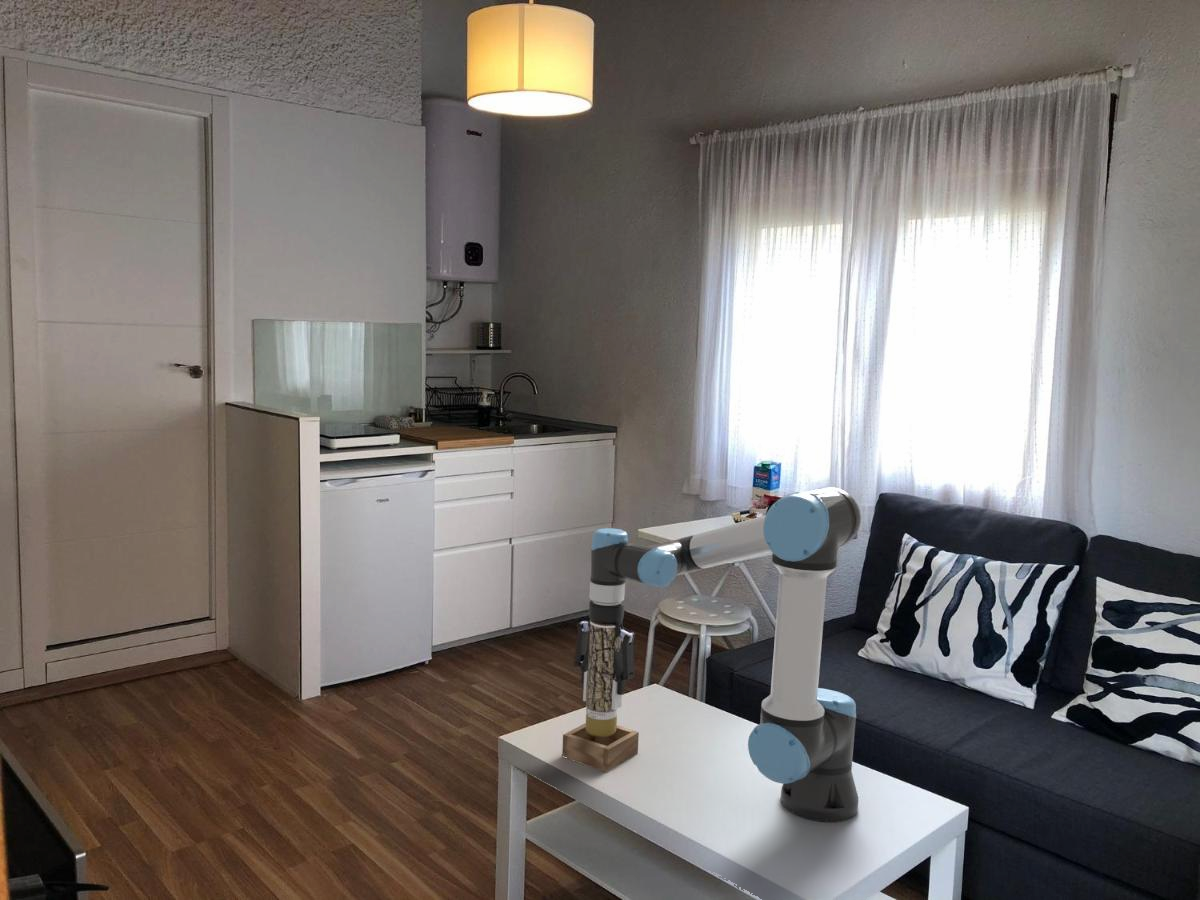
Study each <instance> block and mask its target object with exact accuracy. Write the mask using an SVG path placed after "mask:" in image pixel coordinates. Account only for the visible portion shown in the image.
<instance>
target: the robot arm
mask: <svg viewBox="0 0 1200 900" xmlns="http://www.w3.org/2000/svg"><path fill="white" fill-rule="evenodd" d="M861 521H862V515H861V511H860V507H859V505H858V503H857V501H856V500H855V499H854V497H853V496H852V495H851V494H849V493H848V492H846V491H845V490H842V489H841V488H837V487H831V486H829V487H828V486H827V487H822V488H821V487H819V488H817V489H812V490H811V489H810V490H806V491H795V492H792V493H789V494H788V495H785V496H783V497H781V498H779V499H778V500H776V501H775V502H774V503H773V504H772V505H771V506H770V508H769V509H768V511H767V512H766V514H764V515H761V516H758V517H754V518H750V519H747V520H743V521H740V522H736V523H732V524H729V525H725V526H721V527H719V528H714V529H711V530H707V531H703V532H700V533H696V534H693V535H689V536H685V537H681V538H677V539H673V540H669V541H665V542H661V543H655V544H652V545H648V546H645V545H639V544H634V543H631V542H628V541H629V539H628V533H627V531H626V530H623V529H620V528H611V527H609V528H608V527H606V528H599V529H597V530H595V531H594V532H593V534H592V541H591V542H592V543H591V548H590V551H591V552H590V554H591V555H590V559H591V561H590V580H589V599H590V601H589V603H588V618H589V620H588V621H587V620H582V621H580V622H578V623H576V628H577V638H576V646H575V653H574V660H573V665H574V666H575V667H578V668H580V670H581V673H580V675H581V679H580V681H581V682H580V683H581V685H583V694H582V695H583V696H582V701H583V702H587V680H588V658H589V645H588V643H589V635H590V620H591V619H592V620H594V621H597V622H602V623H609V624H613V625H615V637H616V638H617V637H618V636H619V635H620V636H621V645H620V647H621V648H620V649H619V651H618V652H616V651H614V660H613V667H614V671H615V676H616V679H614V680H613V688H612V710H616V709H617V710H618V709H619V708H621V707H622V700H623V698H622V697H623V696H622V695H624V694H625V692H626V681H628V680H629V679H632V678H634V677H635V665H634V663H635V662H634V661H635V660H634V659H635V658H634V640H635V636H636V634H635V633H634V632H633V631H632V632H629V631H626V630H625V629H624V625H623V620H624V615H625V603H624V602H623V601H624V600H625V593H626V592H625V591H626V590H625V589H626V580H629V581H633V582H636V583H640V584H642V585H643V584H644V585H647V586H650V587H658V588H664V587H665V588H666V587H668V586H669V585H670V584H671V582H673V581H674V579H675V578H676V577H677V576H680V575H685V574H689V573H694V572H697V571H701V570H704V569H707V568H713V567H717V566H720V565H725V564H728V563H729V564H730V563H732V562H736V561H740V560H741V561H742V560H745V559H749V558H753V557H757V556H761V555H767V554H769V553H772V556H771V558H772V559H771V563H772V565H773V566H774V567H775V568H776V569H777V570H778V572H779V576H778V591H777V601H776V602H777V603H776V604H777V605H776V617H775V618H776V619H775V631H774V643H773V644H774V647H773V657H772V671H771V672H772V673H771V682H770V683H771V684H770V694H769V695H768V696H767V697H765V698H764V699H763V700H762V701H761V709H760V720H759V721H760V723H758V724H757V725H756V726H755V727H754V728H753V730H752V731H751V732H750V733H749V736H748V740H747V747H748V750H747V751H748V754H749V757H750V760H751V761H752V764H753V765H754V766H756V767H757V771H758V772H759V773H760V774H761V775H763V777H765V778H766V779H768V780H770V781H772V782H775V783H778V784H782V786H781V790H780V801H781V804H782V806H783V807H785V809H786V810H788V811H789V812H791V813H793V814H795V816H799V817H801V818H804V819H808V820H813V821H817V822H829V823H831V822H842V821H846V820H849V819H851V818H853V817H854V816H856V815H857V814H858V812H859V810H858V809H859V796H858V791H857V788H856V784H855V780H854V776H853V771H852V769H853V768H852V767H853V757H854V755H853V754H854V746H855V745H854V743H855V734H856V733H855V732H856V731H855V730H856V719H857V712H856V711H857V707H856V701H855V700H854V699H853V698H852V697H850V696H849V695H848V694H845V693H842V692H840V691H837V690H831V689H828V688H821V687H819V678H820V669H821V668H820V666H821V655H822V654H821V653H822V642H823V630H824V617H825V608H826V607H825V605H826V594H827V593H826V591H827V579H828V576H829V575H831V574H832V573H833V572H834V571H835V570H836V569H837V563H838V551H839V550H838V549H839V548H841V547H843V546H846V545H847V544H849V543H850V542H851V541H852V540H853V539H854V538H855V537H856V536H857V534H858V532H859V529H860V527H861ZM612 649H613V648H612Z"/></svg>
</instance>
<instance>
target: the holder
mask: <svg viewBox="0 0 1200 900" xmlns="http://www.w3.org/2000/svg"><path fill="white" fill-rule="evenodd" d="M585 727H586V722H584V723H583V724H581V725H579V726H577V727H575V728H573V729H571V730H570V731H567V732H566V733H564V734H562V748H561V749H562V751H561V752H562V753H561V756H564V757H567V758H569V759H568V760H570V759H572V760H571V761H573V760H575V761H574V762H576V761H577V763H579V762H581V763H580V764H582V763H583V764H582V765H585V764H586V765H585V766H588V765H589V766H588V767H591V766H592V768H594V767H595V768H594V769H598V770H599V771H600V770H601V771H603V772H606V773H608V772H609V771H611V770H613V769H615V768H616V767H619V766H620V765H621V764H623V763H625V762H627V761H629V760H630V759H632V758H633V757H635V756H637V755H638V753H639V736H640V735H639V733H640V732H639V731H637V730H633V729H629V728H626V727H624V726H620V725H616V732H615V733H614V734H613V735H611V736H608V737H596V736H592V735H590V734H589V733H587V731H586V728H585ZM564 757H563V758H564ZM567 758H566V759H567Z"/></svg>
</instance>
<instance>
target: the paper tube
mask: <svg viewBox="0 0 1200 900" xmlns="http://www.w3.org/2000/svg"><path fill="white" fill-rule="evenodd" d="M589 620H590V619H589ZM621 639H622V636H620V635H619V636H618V637H617V638H616V637H615V625H613V624H609V623H602V622H597V621H594V620H592V619H591V620H590V629H589V635H588V646H589V658H588V680H587V701H585V704H586V706H585V723H586V727H585V728H586V731H587V733H589V734H590V735H592V736H596V737H608V736H611V735H613V734H614V733H615V732H616V725H617V722H618V709H616V710H612V688H613V680H614V679H616V676H615V671H614V667H613V660H614V651H616V652H618V651H619V649H621V646H622V641H621ZM620 645H621V646H620ZM612 648H613V649H612ZM617 726H618V725H617Z"/></svg>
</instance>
